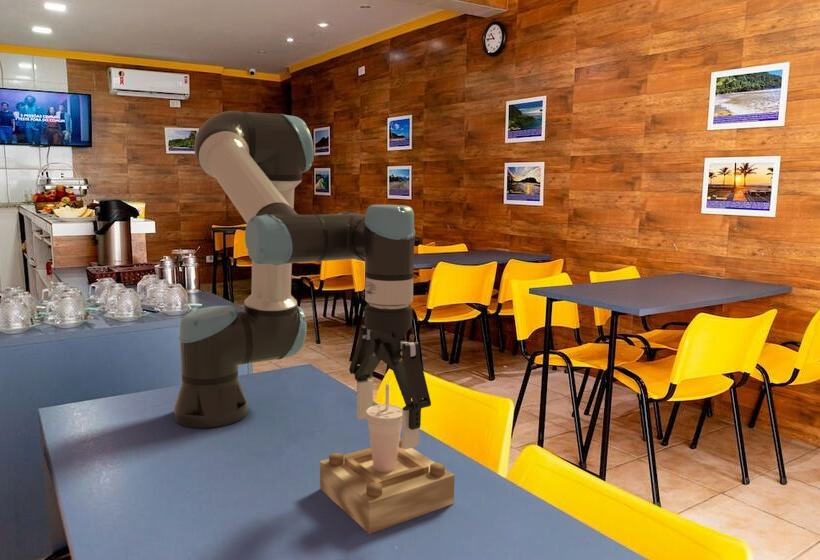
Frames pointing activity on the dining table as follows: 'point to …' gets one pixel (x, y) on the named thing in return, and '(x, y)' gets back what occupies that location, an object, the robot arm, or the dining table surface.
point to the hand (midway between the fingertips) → (386, 431)
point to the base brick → (386, 487)
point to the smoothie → (384, 434)
